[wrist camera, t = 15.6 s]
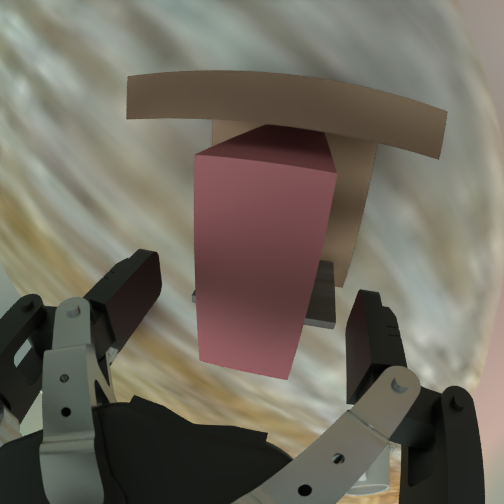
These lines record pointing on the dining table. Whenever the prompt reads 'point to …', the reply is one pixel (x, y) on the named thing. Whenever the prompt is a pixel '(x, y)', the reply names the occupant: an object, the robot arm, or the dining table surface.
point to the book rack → (303, 117)
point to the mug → (374, 477)
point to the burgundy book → (259, 244)
